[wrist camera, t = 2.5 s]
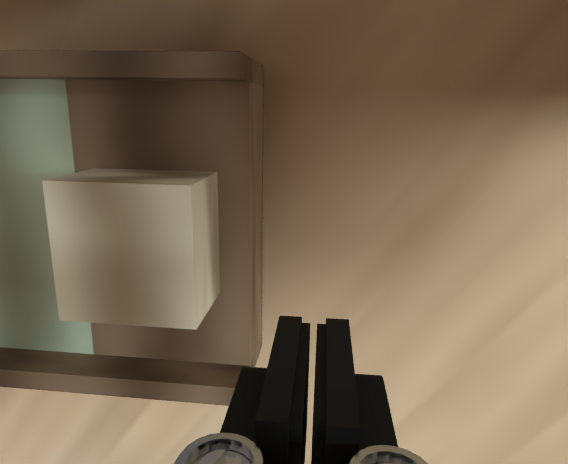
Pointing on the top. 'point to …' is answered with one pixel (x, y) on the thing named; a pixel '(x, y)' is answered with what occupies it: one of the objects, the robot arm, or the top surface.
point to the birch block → (134, 246)
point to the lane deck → (129, 155)
